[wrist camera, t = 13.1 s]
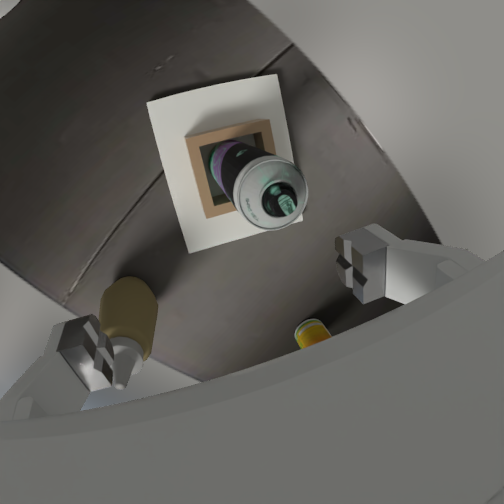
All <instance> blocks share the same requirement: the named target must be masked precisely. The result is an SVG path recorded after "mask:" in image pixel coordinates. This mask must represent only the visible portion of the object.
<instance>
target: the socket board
mask: <svg viewBox="0 0 504 504" xmlns="http://www.w3.org/2000/svg"><path fill="white" fill-rule="evenodd" d="M147 107H148V111H149V115H150V119H151V123H152V127H153V131H154V135H155V138H156V142H157V146H158V150H159V153H160V157H161V161H162V164H163V168H164V172H165V175H166V179H167V182H168V186H169V189H170V193H171V196H172V199H173V203H174V206H175V210H176V213H177V216H178V220H179V223H180V226H181V229H182V233H183V236H184V239H185V242H186V245H187V248H188V252H189V254H190V253H193V252H196V251H200V250H203V249H207V248H210V247H213V246H217V245H220V244H223V243H227V242H230V241H234V240H237V239H240V238H244V237H247V236H251V235H254V234H258V233H261V232H265V231H268V230H263V229H259V228H257V227H255V226H253V225H252V224H250V223H248V222H247V221H246V220H245V219H244V218H243V217H242V216H241V215H240V214H239V212H238V211H237V209H236V208H235V207H234V205H233V204H232V202H231V201H230V200H229V198H228V197H227V195H226V194H225V193H224V191H223V190H222V189H221V187H220V186H219V184H218V183H217V182H216V180H215V179H214V177H213V176H212V175H211V173H210V171H209V168H208V156H209V153H210V151H211V150H212V148H213V147H214V146H215V145H217V144H218V143H220V142H222V141H225V140H236V141H240V142H242V143H245V144H248V145H251V146H253V147H256V148H259V149H261V150H264V151H266V152H269V153H272V154H274V155H277V156H279V157H282V158H284V159H287V160H288V161H290V162H292V163H293V164H294V161H293V155H292V149H291V144H290V138H289V133H288V127H287V122H286V117H285V112H284V106H283V101H282V96H281V91H280V87H279V82H278V77H277V74H273V75H266V76H260V77H254V78H248V79H242V80H237V81H232V82H227V83H222V84H217V85H213V86H208V87H204V88H199V89H195V90H191V91H187V92H183V93H179V94H175V95H172V96H168V97H164V98H161V99H157V100H154V101H151V102H147ZM299 221H303V217H302V214H301V215H300V216H299V217H298V219H297V220H296V221H294V222H293V223H296V222H299Z"/></svg>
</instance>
